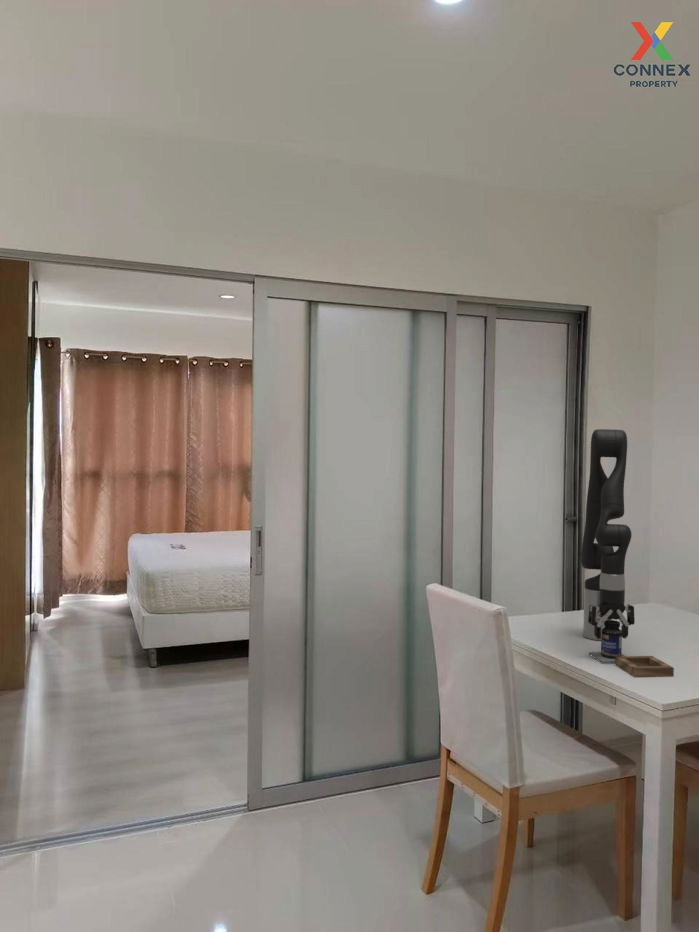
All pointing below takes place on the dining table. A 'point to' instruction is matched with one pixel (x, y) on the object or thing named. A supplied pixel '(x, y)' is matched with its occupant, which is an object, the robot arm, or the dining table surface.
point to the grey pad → (601, 658)
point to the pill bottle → (611, 639)
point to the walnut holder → (644, 666)
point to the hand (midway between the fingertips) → (610, 638)
